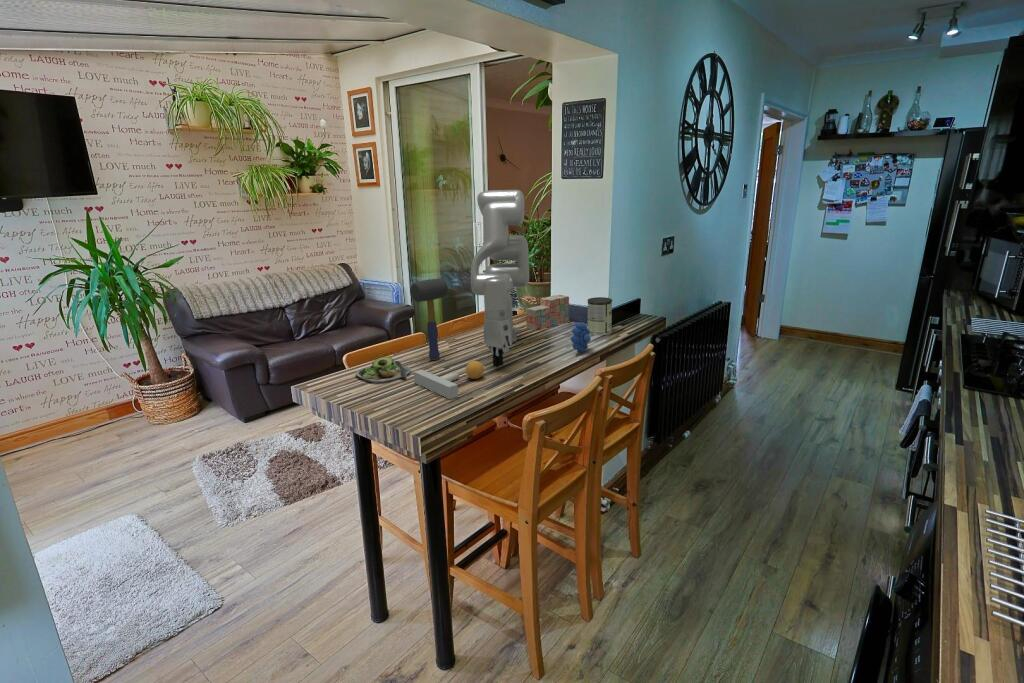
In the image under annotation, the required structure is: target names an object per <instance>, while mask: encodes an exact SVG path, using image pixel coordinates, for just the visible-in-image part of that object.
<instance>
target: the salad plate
mask: <svg viewBox="0 0 1024 683" xmlns="http://www.w3.org/2000/svg"><path fill="white" fill-rule="evenodd" d="M411 369H412V368H410V367H409V366H405V365H402V363H401V361H399V360H394V359H393V358H392V357H391V356H387V355H386V356H381V357H378V358H375V359H374V360H373V361H372V363H371V366H368V367H364V368H360V369H358V370H357V371H356V372H355V376H356V377H357V378H358V379H359V380H363V381H365V382H368V383H374V384H386V383H391V382H393V381H397V380H399V379H400V378H401V379H404V378H407V377H408V374H410V372H411ZM384 377H385V378H384ZM378 378H384V379H378ZM388 378H389V379H388ZM390 381H391V382H390ZM385 382H386V383H385Z"/></svg>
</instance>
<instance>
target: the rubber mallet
mask: <svg viewBox="0 0 1024 683" xmlns="http://www.w3.org/2000/svg"><path fill="white" fill-rule="evenodd" d="M409 290H410V292H409V293H410V296H411V299H412V300H413V301H415V302H416V303H420V302H426V309H427V320H428V321H427V326H426V331H427V332H426V333H427V340H428V347H429V348H428V349H429V350H428V358H429V359H430V360H431V361H437V360H439V358H440V355H441V354H440V350H439V340H438V339H439V332H438V325H437V322H436V314H435V313H436V312H435V301H434V300H438V299H441V298H445V297H446V296H447V295H448V293H449V292H448V291H449V287H448V284H447V282H446V280H445V279H443V278H431V279H424V280H420V281H417V282H416V281H415V282H413V283H412V284H411V285H410V289H409Z"/></svg>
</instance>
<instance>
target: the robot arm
mask: <svg viewBox="0 0 1024 683" xmlns="http://www.w3.org/2000/svg"><path fill="white" fill-rule="evenodd" d="M476 200H477V206H478V208H479V210H480V213H481V215H482V229H483V230H482V231H483V232H482V234H483V235H482V236H483V237H482V240H483V241H482V242H483V243H482V246H481V247H480V248H479V249H478V251H477V252H476V253H475V255H474V256H473V258H472V261H471V265H470V288H471V291H472V293H473V294H474V295H476V296H483V305H484V320H483V342H484V343H485V345H486V347H487V348H489V349H490V354H491V355H492V366H493V367H496V368H497V367H501V366H503V365H504V356H503V355H504V354H505V353H509V352H510V348H509V347H511V346H512V345H513V343H516V342H517V340H518V337H517V336H516V335H517V334H519V333H522V331H523V330H522V328H521V327H518V328H515V327H514V324H513V323H514V322H513V321H514V320H513V317H514V316H513V298H512V295H511V294H510V292H511V291H512V289H513V288H524V287H525V288H526V287H527V286H528V285H529V282H530V262H529V244H528V240H527V238H526V237H525V236H524V235H519V234H518V235H517V234H515V235H510V234H509V226H520V225H522V224H523V222H524V219H525V213H526V212H525V195H524V193H523V191H521V190H520V189H493V190H492V189H491V190H484V191H481V192H479V193H478V194H477V199H476ZM487 258H489V259H491V260H492V261H516V263H514V262H513V263H507V262H506V263H494V264H490V265H488V266H487V267H486V268H485V270H484V272H483V273H480V266H481V265H482V263H483V262H484V261H485V260H486V259H487Z"/></svg>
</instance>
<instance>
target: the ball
mask: <svg viewBox="0 0 1024 683" xmlns="http://www.w3.org/2000/svg"><path fill="white" fill-rule="evenodd" d="M465 372H466V375H467V376H468V377H469V378H470V379H472V380H477V379H480V378H481V377H483V375H484V373H485V368H484V365H483V364H482V362H480V361H478V360H473V361H470V362H469V363H467V365H466V367H465Z"/></svg>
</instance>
